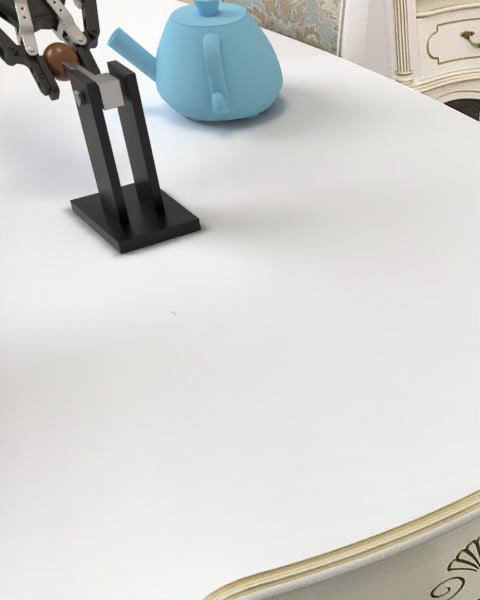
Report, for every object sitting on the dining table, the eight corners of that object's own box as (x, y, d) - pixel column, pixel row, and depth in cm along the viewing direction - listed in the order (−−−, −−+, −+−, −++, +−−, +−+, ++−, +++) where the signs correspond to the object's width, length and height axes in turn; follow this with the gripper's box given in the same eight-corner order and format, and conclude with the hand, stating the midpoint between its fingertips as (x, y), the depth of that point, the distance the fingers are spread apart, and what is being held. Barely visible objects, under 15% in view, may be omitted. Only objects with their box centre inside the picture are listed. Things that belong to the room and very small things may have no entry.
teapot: (291, 134, 133) (277, 19, 124) (120, 145, 130) (92, 28, 121) (281, 75, 147) (267, -33, 138) (125, 84, 144) (101, -25, 135)
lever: (42, 79, 115) (32, 42, 113) (75, 72, 117) (66, 35, 114) (99, 118, 108) (89, 79, 105) (133, 110, 109) (124, 71, 107)
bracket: (72, 211, 118) (31, 63, 108) (150, 189, 122) (118, 44, 112) (121, 253, 112) (82, 101, 101) (201, 229, 116) (172, 80, 105)
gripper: (-78, -85, 106) (10, 87, 108) (64, -106, 112) (145, 56, 114) (-76, -35, 113) (7, 126, 115) (58, -58, 119) (134, 95, 121)
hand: (75, 90), depth 114 cm, fingers closed on lever, 3 cm apart
